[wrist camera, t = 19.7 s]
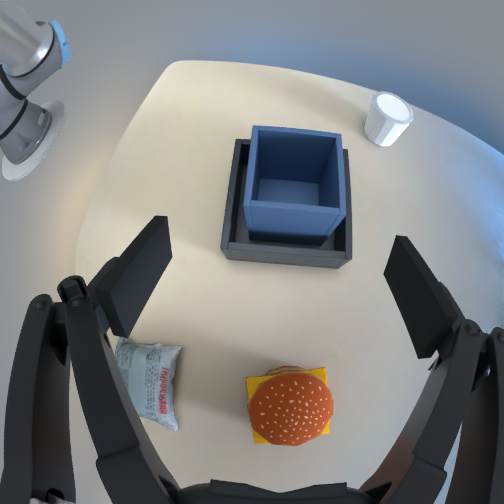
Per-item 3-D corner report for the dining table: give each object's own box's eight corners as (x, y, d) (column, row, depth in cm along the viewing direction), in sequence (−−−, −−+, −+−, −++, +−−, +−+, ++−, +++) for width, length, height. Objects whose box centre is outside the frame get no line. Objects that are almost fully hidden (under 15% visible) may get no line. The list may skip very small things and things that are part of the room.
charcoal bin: (227, 259, 34) (220, 248, 29) (239, 162, 37) (235, 138, 32) (338, 268, 33) (352, 259, 28) (337, 171, 37) (347, 149, 31)
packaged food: (187, 343, 32) (174, 348, 27) (181, 426, 29) (169, 441, 24) (127, 331, 33) (108, 332, 28) (124, 410, 30) (106, 420, 25)
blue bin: (249, 240, 34) (243, 205, 23) (255, 176, 36) (252, 125, 25) (321, 246, 33) (346, 214, 23) (321, 182, 35) (341, 133, 25)
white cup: (398, 154, 37) (416, 130, 30) (360, 142, 38) (373, 115, 31) (395, 124, 38) (410, 99, 32) (360, 113, 39) (371, 85, 32)
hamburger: (256, 435, 29) (254, 459, 22) (245, 369, 31) (240, 381, 25) (328, 423, 29) (341, 444, 22) (321, 356, 31) (334, 365, 25)
